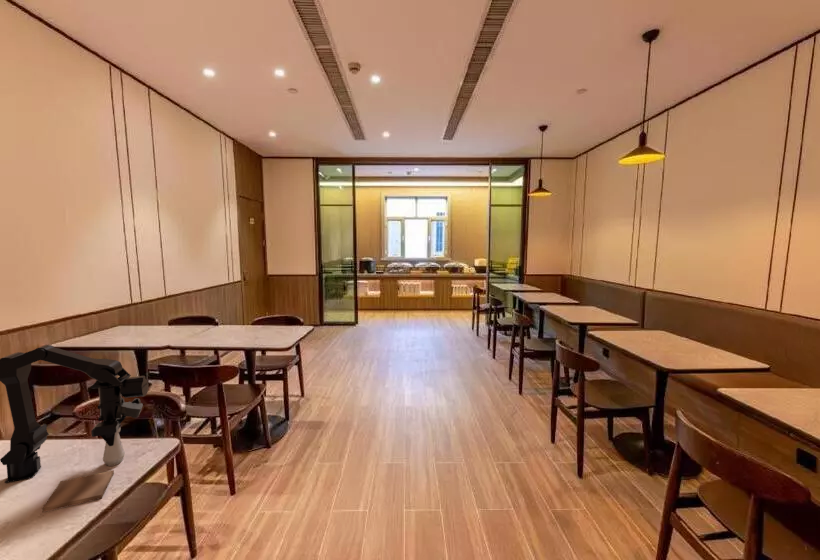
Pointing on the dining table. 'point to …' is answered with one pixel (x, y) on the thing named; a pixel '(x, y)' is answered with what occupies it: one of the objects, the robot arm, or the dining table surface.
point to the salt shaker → (114, 451)
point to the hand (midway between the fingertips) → (113, 443)
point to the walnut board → (78, 490)
